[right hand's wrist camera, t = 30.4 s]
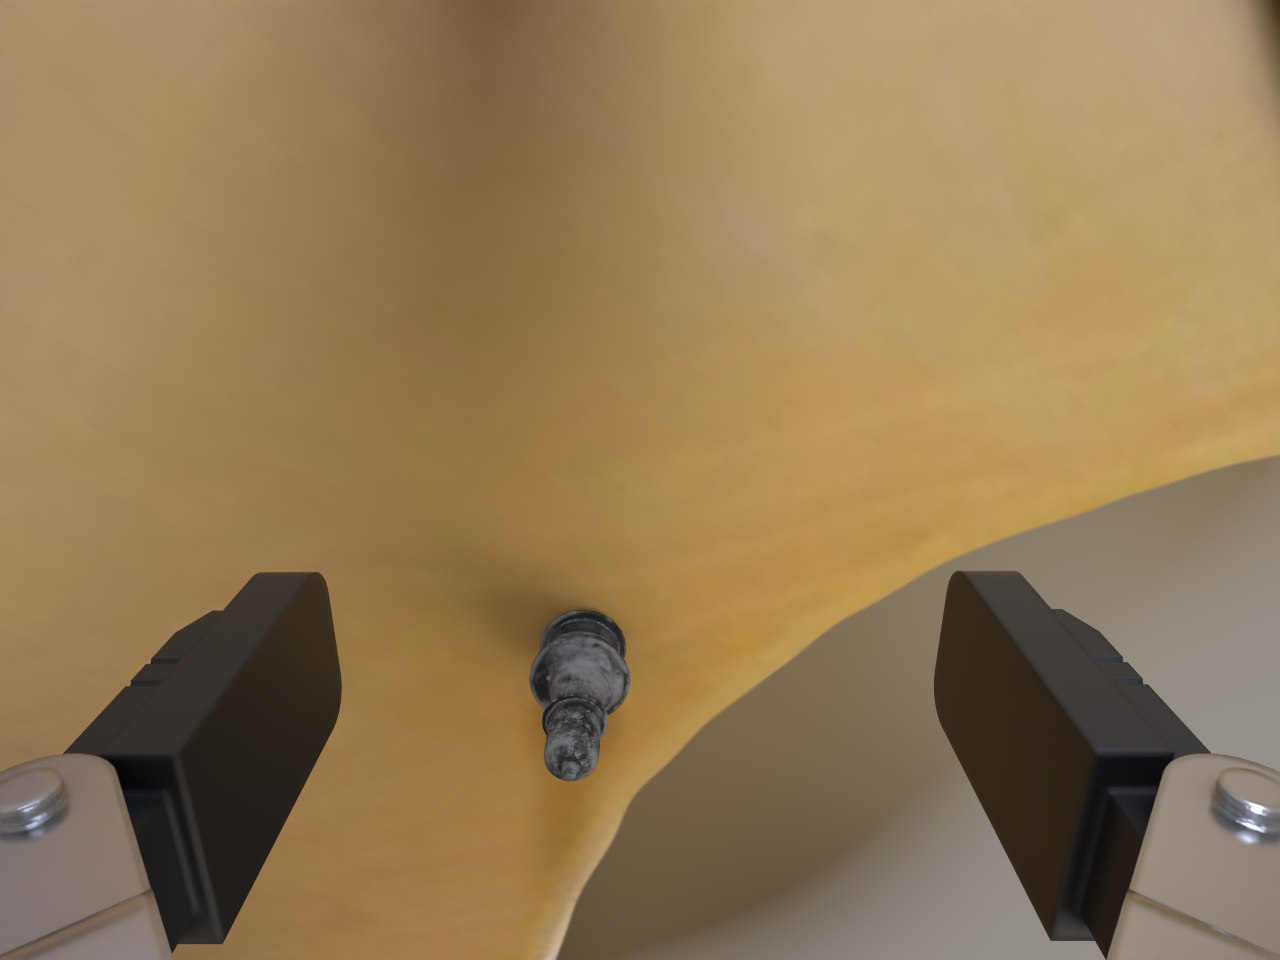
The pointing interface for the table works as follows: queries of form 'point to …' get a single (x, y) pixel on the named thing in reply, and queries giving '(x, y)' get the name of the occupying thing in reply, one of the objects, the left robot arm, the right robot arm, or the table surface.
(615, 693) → the grey tall turned piece
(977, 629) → the right robot arm
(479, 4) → the table surface
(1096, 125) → the table surface
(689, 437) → the table surface
